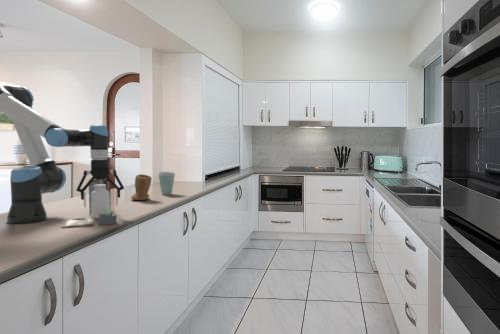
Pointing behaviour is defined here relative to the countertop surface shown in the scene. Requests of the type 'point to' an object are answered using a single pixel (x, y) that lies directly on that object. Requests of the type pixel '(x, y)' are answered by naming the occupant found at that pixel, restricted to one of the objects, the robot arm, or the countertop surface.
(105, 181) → the coffee box
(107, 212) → the button
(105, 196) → the pill bottle
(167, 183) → the disposable coffee cup
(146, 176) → the stone cup
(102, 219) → the button housing
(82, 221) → the clipboard
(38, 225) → the countertop surface
